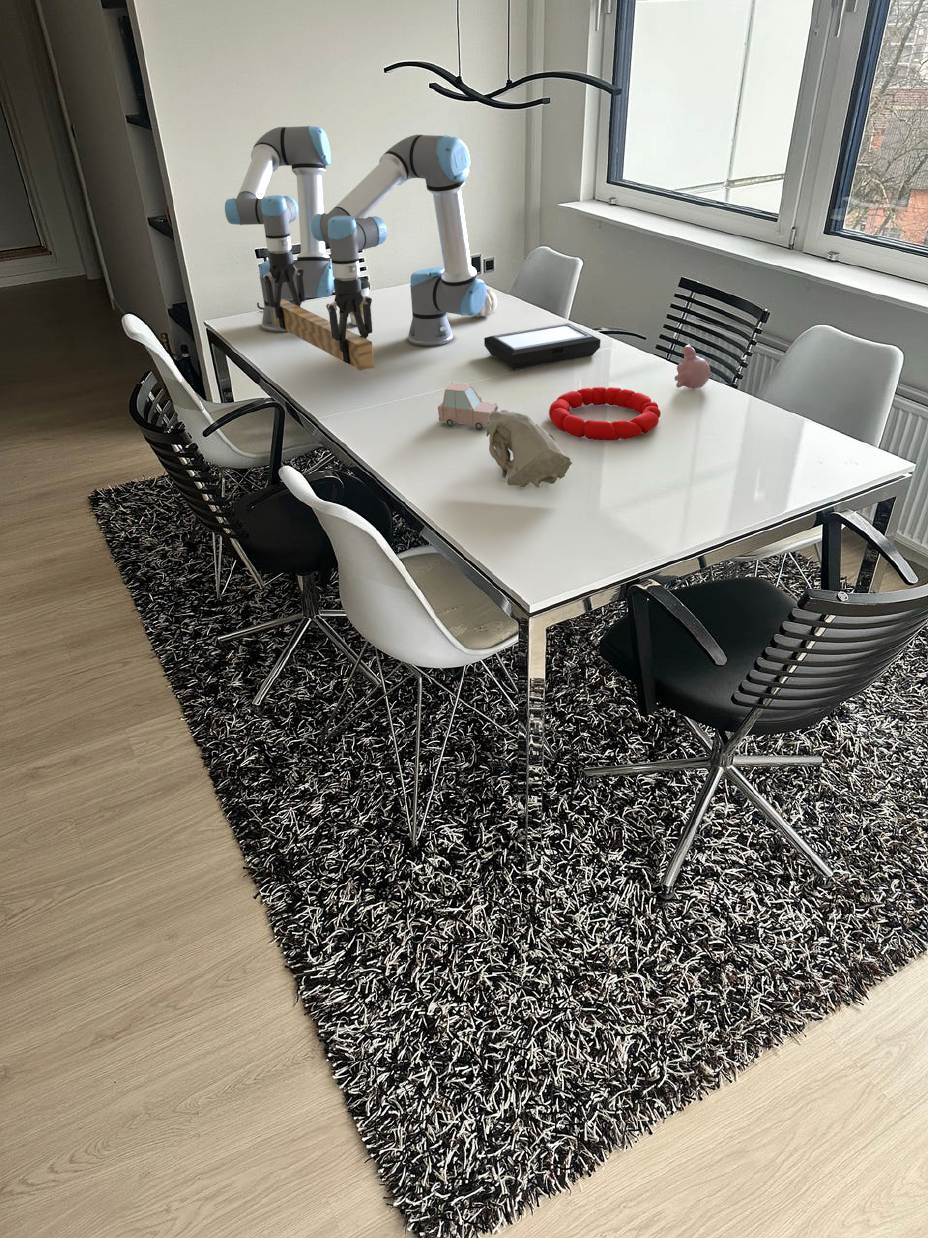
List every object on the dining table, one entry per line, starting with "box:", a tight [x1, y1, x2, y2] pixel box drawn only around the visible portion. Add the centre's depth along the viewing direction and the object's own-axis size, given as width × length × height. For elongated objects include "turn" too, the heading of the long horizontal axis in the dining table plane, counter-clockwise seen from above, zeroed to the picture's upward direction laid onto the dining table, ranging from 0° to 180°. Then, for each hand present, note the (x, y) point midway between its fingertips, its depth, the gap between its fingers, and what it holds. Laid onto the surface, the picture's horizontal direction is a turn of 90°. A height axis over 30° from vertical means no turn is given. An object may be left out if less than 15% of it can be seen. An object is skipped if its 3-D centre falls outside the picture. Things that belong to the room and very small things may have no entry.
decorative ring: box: [548, 386, 661, 442], centre depth 242 cm, size 7×30×30 cm
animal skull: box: [485, 409, 573, 489], centre depth 216 cm, size 17×25×20 cm
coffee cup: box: [349, 277, 371, 326], centre depth 323 cm, size 10×10×15 cm
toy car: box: [437, 382, 499, 431], centre depth 243 cm, size 9×15×10 cm, turn 70°
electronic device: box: [483, 322, 601, 371], centre depth 289 cm, size 32×6×20 cm
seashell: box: [473, 288, 498, 318], centre depth 327 cm, size 10×15×10 cm
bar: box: [273, 299, 375, 372], centre depth 273 cm, size 59×4×7 cm, turn 34°
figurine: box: [674, 344, 711, 390], centre depth 259 cm, size 9×11×12 cm
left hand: (290, 326), depth 291 cm, fingers closed on bar, 5 cm apart
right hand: (354, 360), depth 260 cm, fingers closed on bar, 5 cm apart
